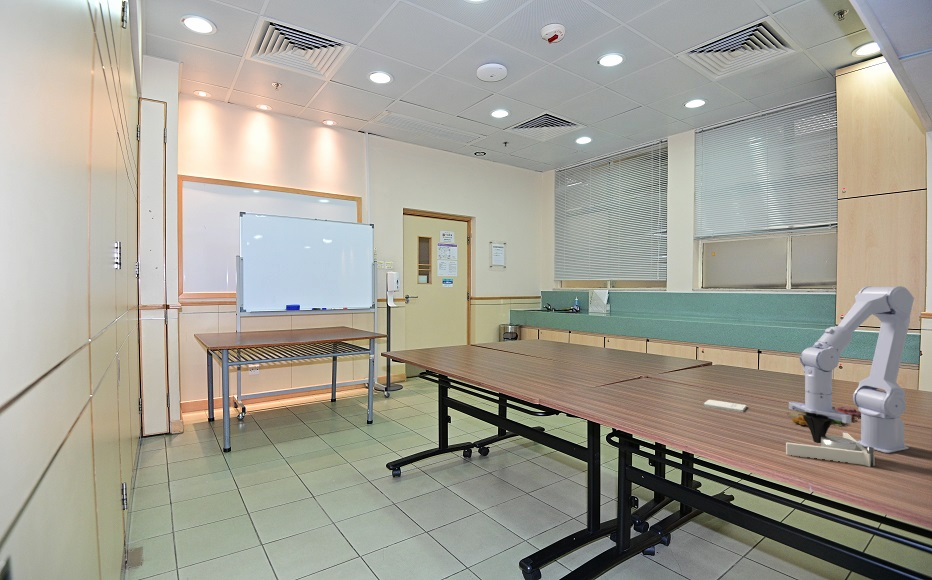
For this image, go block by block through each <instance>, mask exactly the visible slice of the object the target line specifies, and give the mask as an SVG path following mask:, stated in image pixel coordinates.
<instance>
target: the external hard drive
mask: <svg viewBox="0 0 932 580" xmlns="http://www.w3.org/2000/svg"><path fill="white" fill-rule="evenodd" d="M703 407H708V408H713V409H714V408H715V409H719V410H726V411H734V412H739V413H743V412H744V411H745V410H746V409H747V408H746V407H748V406H747V405H746V404H741V403H734V402H730V401H729V402H727V401H722V400H715V399H708V400H706V401H705V402H704V403H703Z"/></svg>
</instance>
